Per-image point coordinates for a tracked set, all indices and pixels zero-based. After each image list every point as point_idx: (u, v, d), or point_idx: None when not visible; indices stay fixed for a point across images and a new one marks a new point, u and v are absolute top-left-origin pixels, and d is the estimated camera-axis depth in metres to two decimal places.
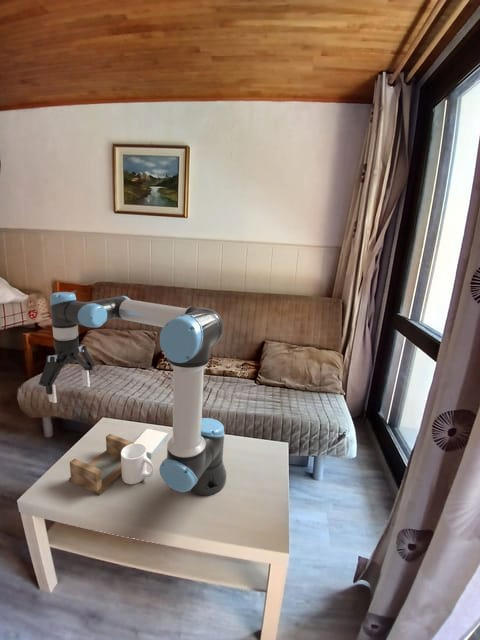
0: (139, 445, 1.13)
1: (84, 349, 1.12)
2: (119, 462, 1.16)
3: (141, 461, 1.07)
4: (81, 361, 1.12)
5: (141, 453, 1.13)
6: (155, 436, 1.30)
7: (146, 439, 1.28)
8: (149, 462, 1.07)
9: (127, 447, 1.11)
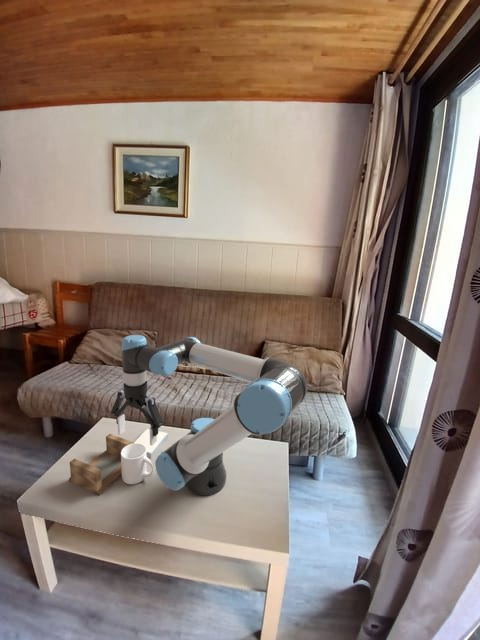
0: (139, 445, 1.13)
1: (148, 403, 1.00)
2: (119, 462, 1.16)
3: (141, 461, 1.07)
4: (144, 413, 1.02)
5: (141, 453, 1.13)
6: None
7: (146, 439, 1.28)
8: (149, 462, 1.07)
9: (127, 447, 1.11)
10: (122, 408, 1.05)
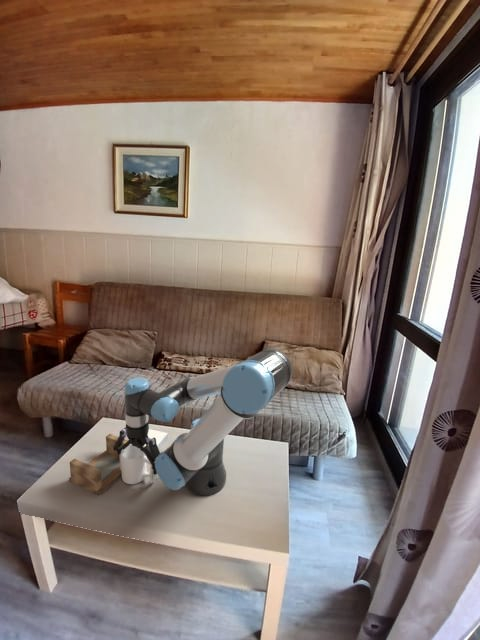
0: None
1: (149, 444, 1.04)
2: (119, 462, 1.16)
3: (141, 461, 1.07)
4: (145, 453, 1.05)
5: (141, 453, 1.13)
6: (155, 436, 1.30)
7: None
8: (149, 462, 1.07)
9: (127, 447, 1.11)
10: (124, 446, 1.09)
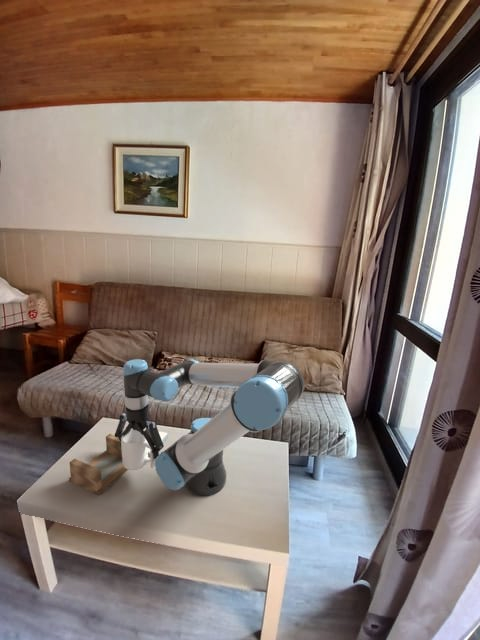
0: None
1: (149, 427, 1.02)
2: (119, 462, 1.16)
3: (142, 446, 1.05)
4: (145, 436, 1.04)
5: (142, 439, 1.12)
6: None
7: None
8: (150, 447, 1.06)
9: None
10: (125, 431, 1.07)
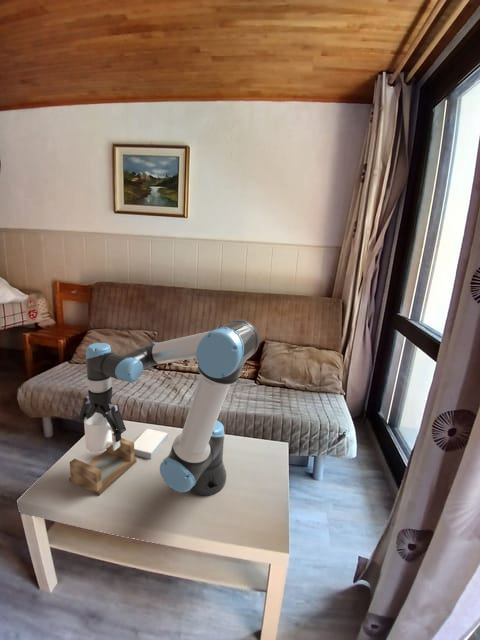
0: None
1: (111, 410, 1.03)
2: (119, 462, 1.16)
3: (104, 428, 1.06)
4: (108, 419, 1.05)
5: None
6: (155, 436, 1.30)
7: (146, 439, 1.28)
8: None
9: (92, 416, 1.11)
10: (88, 414, 1.08)
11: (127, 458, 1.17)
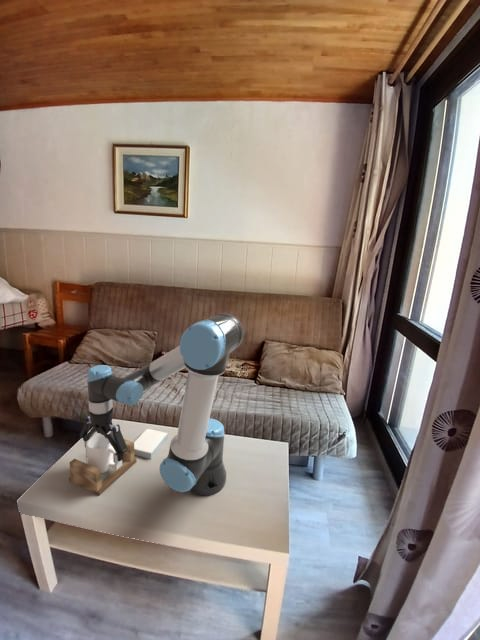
0: None
1: (112, 430, 1.05)
2: None
3: (106, 451, 1.08)
4: (109, 440, 1.06)
5: (108, 444, 1.15)
6: (155, 436, 1.30)
7: (146, 439, 1.28)
8: (114, 452, 1.09)
9: (94, 438, 1.13)
10: (89, 433, 1.10)
11: (127, 458, 1.17)
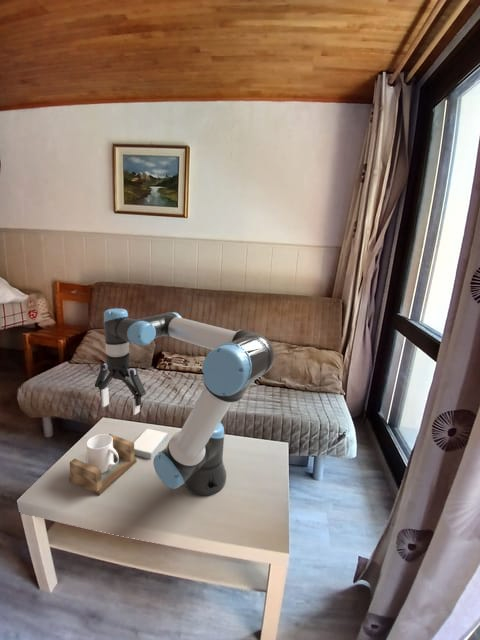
0: (106, 436, 1.14)
1: (130, 373, 1.04)
2: (119, 462, 1.16)
3: (106, 451, 1.08)
4: (127, 384, 1.06)
5: (108, 444, 1.15)
6: (155, 436, 1.30)
7: (146, 439, 1.28)
8: (114, 452, 1.09)
9: (94, 438, 1.13)
10: (105, 380, 1.09)
11: (127, 458, 1.17)
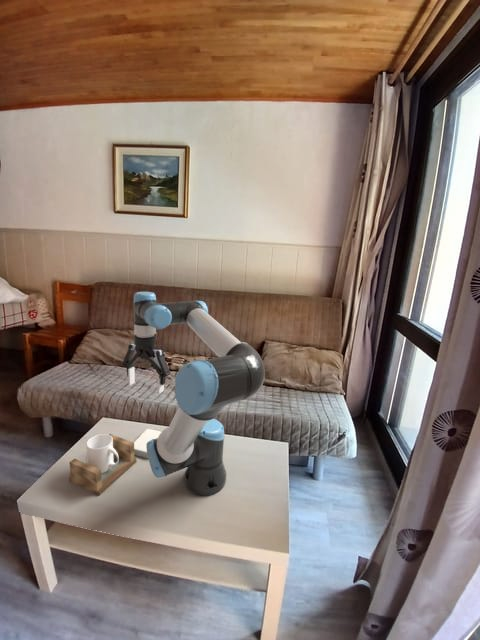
0: (106, 436, 1.14)
1: (156, 354, 1.10)
2: (119, 462, 1.16)
3: (106, 451, 1.08)
4: (153, 364, 1.11)
5: (108, 444, 1.15)
6: (155, 436, 1.30)
7: (146, 439, 1.28)
8: (114, 452, 1.09)
9: (94, 438, 1.13)
10: (132, 360, 1.15)
11: (127, 458, 1.17)
